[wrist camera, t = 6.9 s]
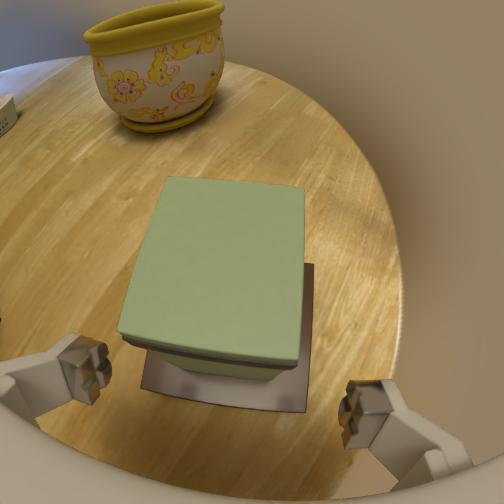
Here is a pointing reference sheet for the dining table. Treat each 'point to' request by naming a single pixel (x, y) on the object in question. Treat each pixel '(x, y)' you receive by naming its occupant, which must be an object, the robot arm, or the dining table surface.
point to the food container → (7, 113)
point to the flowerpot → (159, 63)
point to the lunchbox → (220, 278)
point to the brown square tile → (236, 389)
